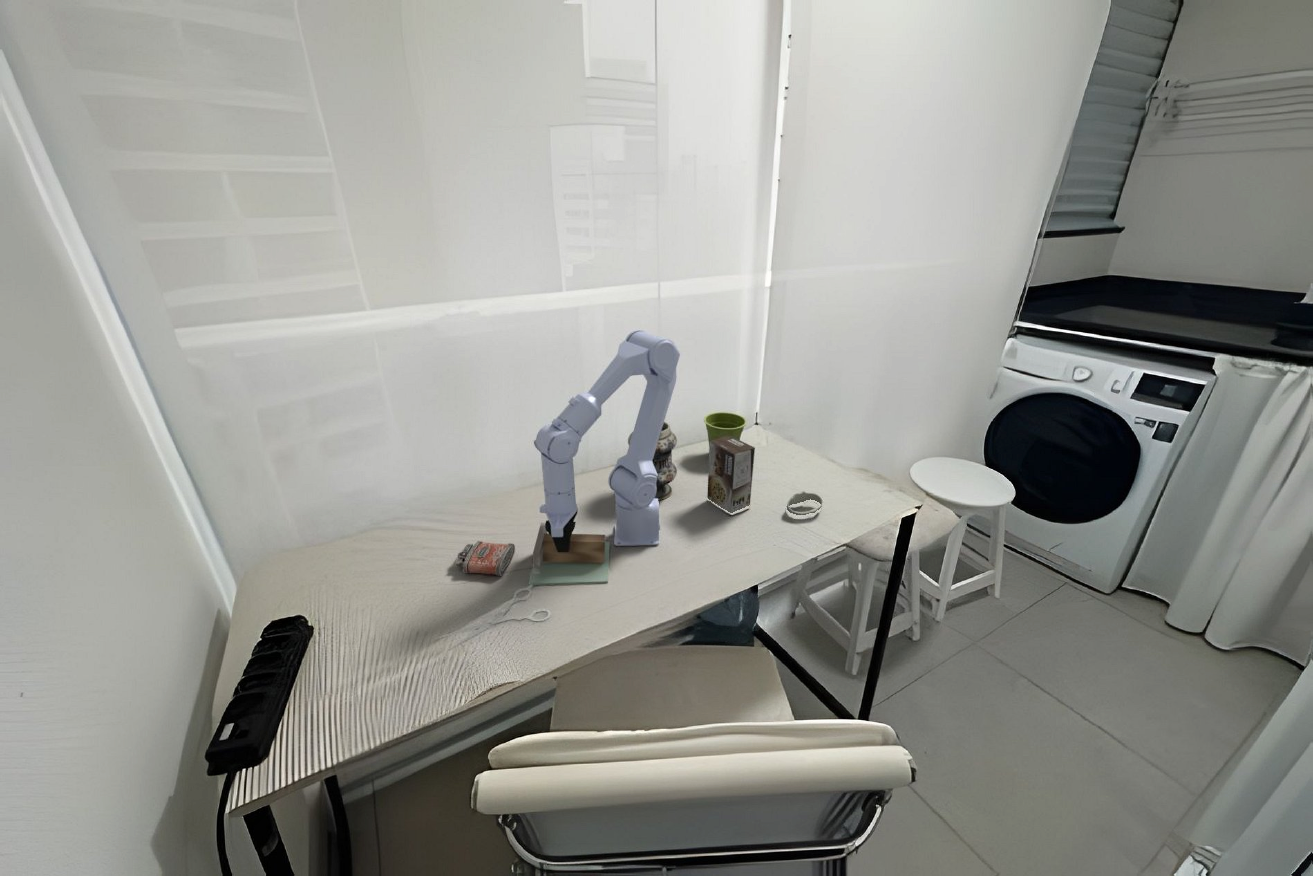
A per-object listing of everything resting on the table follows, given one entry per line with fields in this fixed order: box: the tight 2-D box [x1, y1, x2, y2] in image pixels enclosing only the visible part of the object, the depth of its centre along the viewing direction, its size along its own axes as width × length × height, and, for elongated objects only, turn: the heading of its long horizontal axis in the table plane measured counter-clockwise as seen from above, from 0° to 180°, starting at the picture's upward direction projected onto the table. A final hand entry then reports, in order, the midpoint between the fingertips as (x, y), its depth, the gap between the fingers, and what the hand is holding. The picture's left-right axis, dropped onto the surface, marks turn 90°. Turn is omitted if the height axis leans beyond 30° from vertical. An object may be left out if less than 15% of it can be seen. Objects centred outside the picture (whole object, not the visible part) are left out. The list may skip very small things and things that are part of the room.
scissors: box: [435, 585, 552, 653], centre depth 93 cm, size 11×1×20 cm
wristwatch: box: [786, 490, 824, 515], centre depth 124 cm, size 9×6×5 cm
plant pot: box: [703, 411, 748, 443], centre depth 150 cm, size 12×12×11 cm
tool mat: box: [528, 540, 611, 586], centre depth 108 cm, size 15×13×1 cm
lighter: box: [454, 540, 516, 577], centre depth 106 cm, size 8×3×10 cm
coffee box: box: [706, 435, 756, 513], centre depth 125 cm, size 9×6×16 cm
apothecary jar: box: [627, 421, 678, 501], centre depth 130 cm, size 12×12×18 cm
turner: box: [532, 522, 606, 574], centre depth 106 cm, size 13×10×5 cm
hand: (564, 546), depth 106 cm, fingers closed on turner, 2 cm apart
